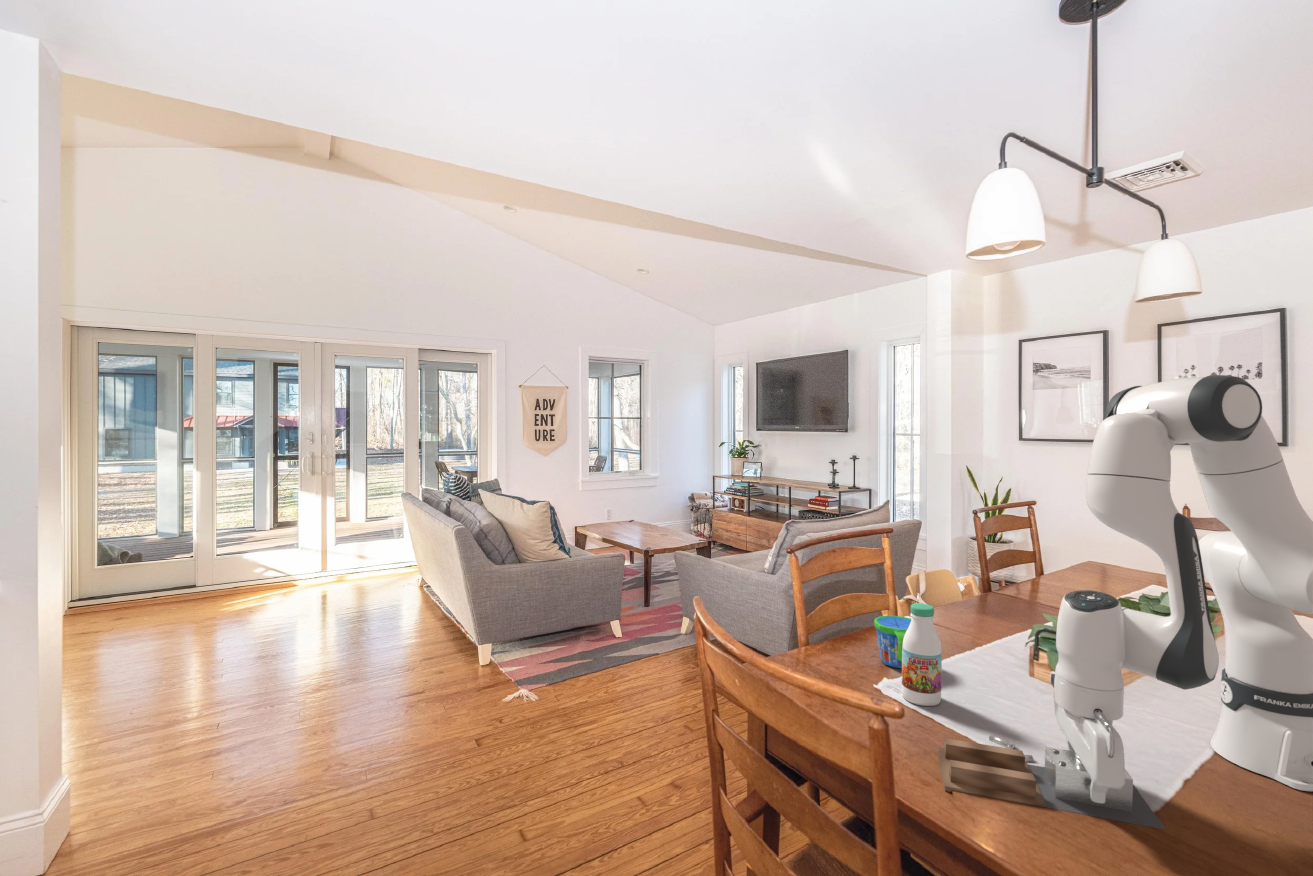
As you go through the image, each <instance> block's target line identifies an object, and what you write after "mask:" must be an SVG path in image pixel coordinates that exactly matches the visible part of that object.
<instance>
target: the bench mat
mask: <svg viewBox="0 0 1313 876" xmlns="http://www.w3.org/2000/svg"><path fill="white" fill-rule="evenodd" d="M1027 764H1028V763H1027ZM1028 767H1029V769H1030V771H1031V773H1032V774H1033V775H1034V778H1035V780H1036V784H1037V786H1038V789H1039V791H1040V793H1041V795H1042V797H1043V799H1044V802H1045V804H1046V807H1045V808H1047V809H1052V810H1058V811H1063V812H1068V813H1069V812H1070V813H1073V814H1074V813H1075V814H1078V815H1079V814H1080V815H1084V816H1091V817H1096V818H1101V819H1107V820H1111V821H1116V822H1123V823H1127V824H1128V823H1129V824H1133V825H1138V826H1143V827H1144V826H1145V827H1150V828H1155V829H1160V830H1166V827H1165V826H1164V824H1163V823H1162V822H1161V821H1160V819H1159V818H1158V817H1157V815H1156V813H1154V811H1153V809H1151V807H1150V806H1149V804H1148V803H1147V801H1146V799H1145V798H1144V797H1143V795H1142V794H1141V793H1140V792H1139V790H1138V789H1137V787H1136V786H1135V784H1133V798H1132V812H1130V811H1124V810H1119V809H1113V808H1108V807H1102V806H1097V805H1091V804H1085V803H1080V802H1074V801H1069V800H1063V799H1058V798H1055V797H1054V795H1053V793H1052V790H1051V788H1050V786H1049V784H1048V782H1047V780H1046V778H1045V766H1039V765H1034V764H1028ZM1041 807H1042V806H1040V808H1041ZM1042 808H1043V807H1042Z"/></svg>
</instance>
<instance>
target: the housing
mask: <svg viewBox="0 0 1313 876" xmlns="http://www.w3.org/2000/svg"><path fill="white" fill-rule="evenodd" d="M1044 767H1045V778H1046V780H1047V782H1048V784H1049V786H1050V788H1051V790H1052V793H1053V795H1054V797H1055V798H1058V799H1063V800H1069V801H1074V802H1080V803H1085V804H1091V805H1097V806H1102V807H1108V808H1113V809H1119V810H1124V811H1130V812H1132V798H1133V785H1134V779H1133V778H1132V776H1131V775H1130V773H1129V772H1128V771H1127V769H1126V768H1125V785H1124V786H1123V788H1122V789H1113V788H1108V790H1107V792H1106V799H1105V803H1103V804H1102V803H1096V802H1093V801H1092V800H1091V798H1090V796H1089V794H1088V791H1089V790H1088V785H1091V778H1090V775H1089V774H1088V772H1087V770H1086V769H1085V767H1084V765H1083V764H1082V762H1081V760H1080V759H1079V757H1078V756H1077V754H1076V752H1075V751H1069V750H1068V749H1062V748H1055V747H1048V746H1045V749H1044Z"/></svg>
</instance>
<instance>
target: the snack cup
mask: <svg viewBox="0 0 1313 876" xmlns="http://www.w3.org/2000/svg"><path fill="white" fill-rule="evenodd" d="M911 619H912V618H910V617H907V616H900V615H880V616H878V617H876V618H875V619H874V620H873V621H874V622H873V623H874V628H875V630H876V636H877V637H876V639H877V645H878V651H879V656H880V660H881V662H882V663H883V664H884V665H886V666H889V667H891V668H892V667H893V668H896V669H897V668H898V669H902V647H903V639H904V636H905V633H906V631H907V629H908V627H909V625H910V623H911Z"/></svg>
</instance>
